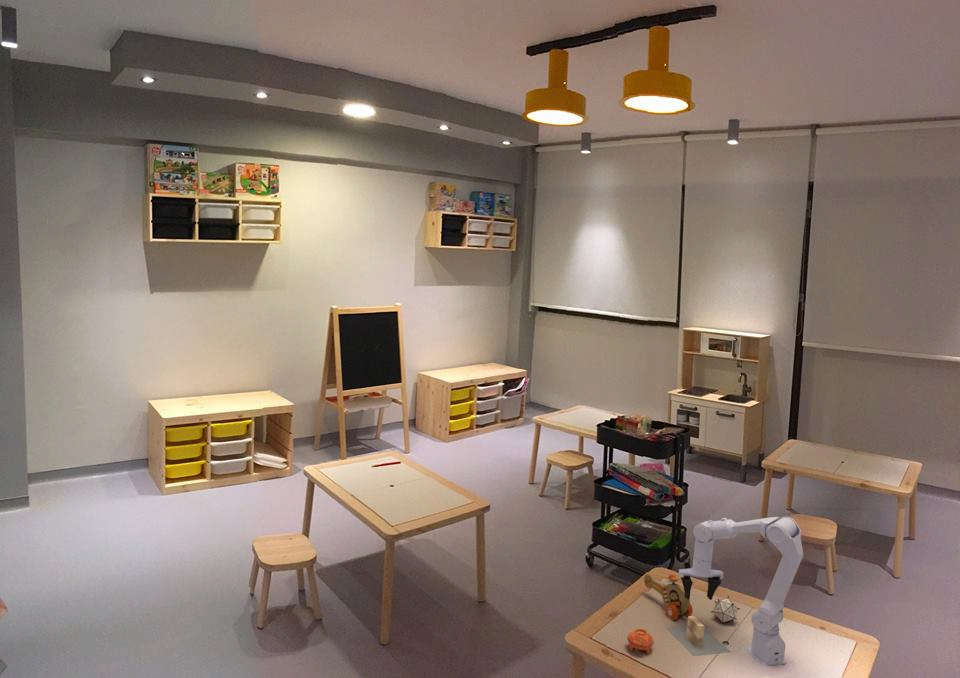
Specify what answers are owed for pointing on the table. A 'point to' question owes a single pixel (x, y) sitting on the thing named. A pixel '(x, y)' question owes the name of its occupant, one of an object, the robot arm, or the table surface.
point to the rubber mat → (709, 642)
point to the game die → (725, 610)
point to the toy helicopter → (670, 596)
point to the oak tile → (695, 631)
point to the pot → (640, 640)
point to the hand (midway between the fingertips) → (698, 598)
